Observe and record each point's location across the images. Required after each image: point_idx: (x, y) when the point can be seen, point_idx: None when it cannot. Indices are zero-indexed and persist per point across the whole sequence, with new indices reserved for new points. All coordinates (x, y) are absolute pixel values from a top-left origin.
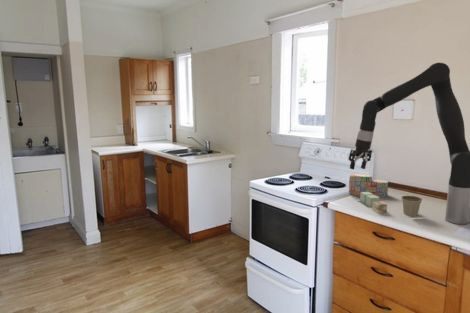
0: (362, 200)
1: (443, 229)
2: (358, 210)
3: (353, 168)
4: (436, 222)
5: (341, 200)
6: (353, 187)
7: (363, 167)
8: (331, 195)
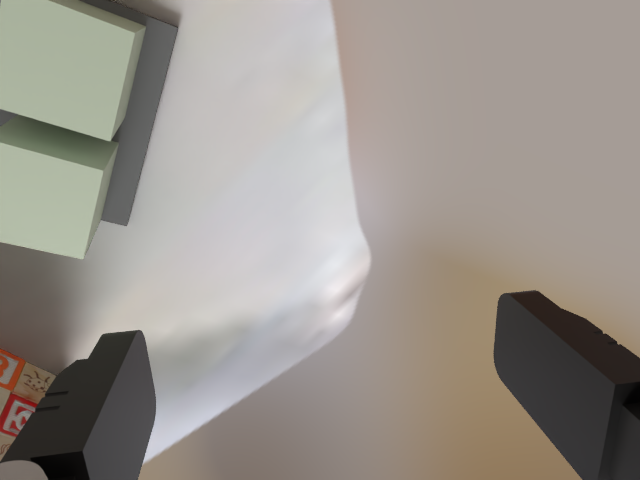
0: (107, 183)
1: None
2: (298, 34)
3: (534, 295)
4: None
5: (228, 297)
6: (11, 423)
7: (137, 365)
8: (209, 409)
